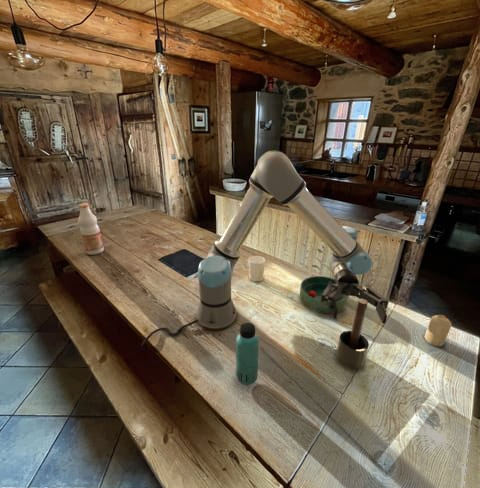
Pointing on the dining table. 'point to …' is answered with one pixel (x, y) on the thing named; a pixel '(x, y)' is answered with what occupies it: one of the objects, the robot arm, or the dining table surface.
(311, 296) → the tomato
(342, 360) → the crock
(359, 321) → the stirring stick
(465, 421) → the dining table surface
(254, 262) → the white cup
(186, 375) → the dining table surface
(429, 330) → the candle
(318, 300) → the bowl
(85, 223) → the fruit juice
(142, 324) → the dining table surface
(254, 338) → the beverage bottle
